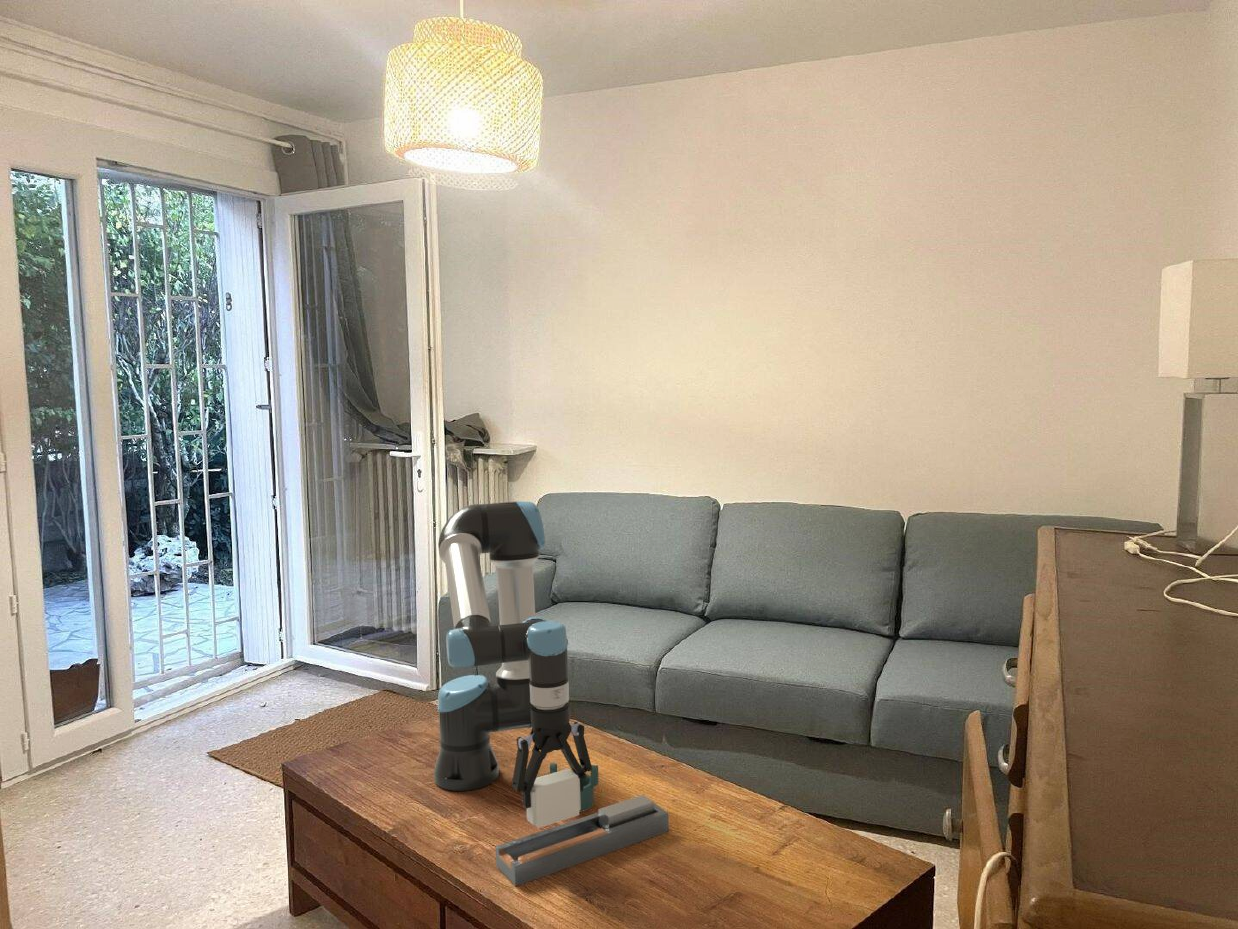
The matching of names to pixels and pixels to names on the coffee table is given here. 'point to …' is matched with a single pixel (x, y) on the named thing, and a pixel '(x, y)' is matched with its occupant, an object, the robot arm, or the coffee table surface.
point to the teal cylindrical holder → (585, 786)
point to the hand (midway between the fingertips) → (554, 815)
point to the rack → (581, 839)
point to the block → (556, 797)
